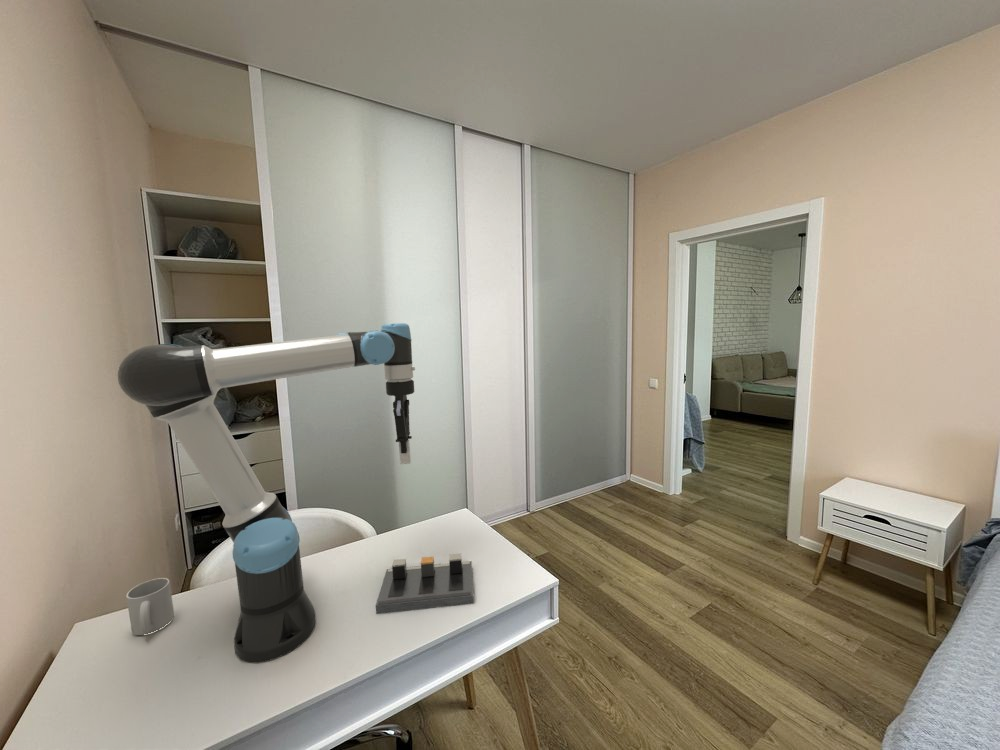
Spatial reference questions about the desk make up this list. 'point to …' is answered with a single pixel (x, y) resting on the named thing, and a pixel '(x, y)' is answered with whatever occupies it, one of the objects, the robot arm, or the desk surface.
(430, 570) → the toggle
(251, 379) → the robot arm
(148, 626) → the cup
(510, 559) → the desk surface
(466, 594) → the panel
